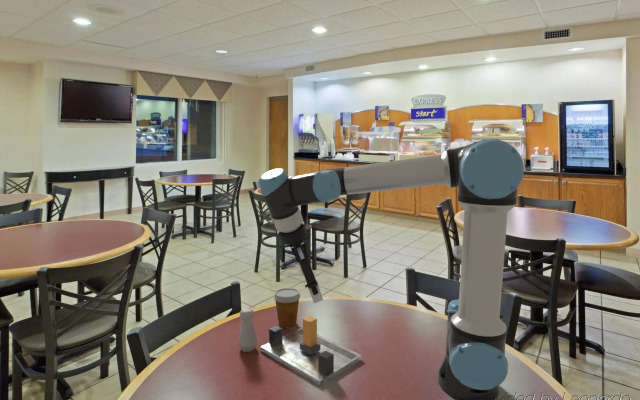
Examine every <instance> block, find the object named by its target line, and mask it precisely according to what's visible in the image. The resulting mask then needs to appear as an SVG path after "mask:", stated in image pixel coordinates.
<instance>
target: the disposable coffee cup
mask: <svg viewBox="0 0 640 400" xmlns="http://www.w3.org/2000/svg"><path fill="white" fill-rule="evenodd" d="M273 298H274V301H275V306H276V314H277V321H278V327H280V328H282V329H289V328H294V327H295V326H296V325H297V321H298V312H299V311H298V310H299V302H300V298H301V294H300V291H299V290H298V289H296V288H291V287H289V288H288V287H287V288H286V287H284V288H280V289H278V290H275V292H274V295H273Z"/></svg>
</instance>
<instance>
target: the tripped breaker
mask: <svg viewBox="0 0 640 400" xmlns="http://www.w3.org/2000/svg"><path fill="white" fill-rule="evenodd" d="M302 327H303V342H301V343H300V349H301V350H302V351H304V352H306V353H308V354H310V355H312V354H314V353H316V352H318V351H320V344H319V343H317V334H318V328H317V327H318V319H317V317H313V316H311V315H309V316H306V317H304V318H302Z"/></svg>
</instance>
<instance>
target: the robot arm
mask: <svg viewBox="0 0 640 400" xmlns="http://www.w3.org/2000/svg"><path fill="white" fill-rule="evenodd" d="M524 173H525V164H524V161H523V158H522V155H521V154H520V153H519V151H518V150H517V149H516V148H515V147H514V146H513V145H511V144H510V143H508V142H506V141H504V140H501V139H493V138H488V139H481V140H478V141H476V142H473V143H470V144H467V145H463V146H460V147H456V148H451V149H449V148H448V149H445V150H444V151H443V152H442V153H440V154H435V155H428V156H422V157H421V156H420V157H415V158H414V157H412V158H405V159H397V160H391V161H390V160H389V161H383V162H375V163H369V164H363V165H362V164H360V165H353V166H346V167H338V168H327V169H325V170H323V169H322V170H319V171H313V172H309V173H303V174H300V175H299V174H298V175H291V176H289V174H288V173H287V171H286V169H284V168H274V169H271V170H268V171H266V172H264V173H263V174H261V175H260V177H259V179H258V186H259V189H260V192H261V197H263V200H264V202H265V204H266V207H267V210H268V212H269V214H270V217H271V219H270V224H271V225H273V224H274V227H275V229H276V233H277V237H278V238H279V241H280V243H282V245H285V246H289V249H290V250H291V253H292V254H293V255H294V258H295V260H296V263H298V265H299V268H300V271H301V274H302V276H304V279H305V281H306V284H304V286H305V287H304V288H307V289H308V291H309V294H310V297H311V299H312V302H313V304H317V303H319V302H322V301H324V299H323V298H324V297H323V295H322V292H321V289H320V287H319V282H318V281H317V279H316V276H315V273H314V272H313V269H312V266H311V264H310V261H309V258H310V257H309V254H308V251H307V246H306V244H305V242H304V240H305V239H306V237H307V236H308V231H307V227H306V224H305V221H304V218H303V216H302V212H301V209H300V207H299V206H302V205H303V206H305V205H311V204H318V203H328V202H331V201H336V200H338V199H339V198H340V197H342V196H347V195H356V194H365V193H367V194H369V193H376V192H386V191H394V190H404V189H413V188H422V187H423V188H424V187H431V186H441V185H442V186H443V185H445V186H446V187H448V188H450V189H451V188H457V189H458V191H457V203H458V204H459V205H460V206H461V207H462V208H463V210H464V212H463V213H464V214H463V226H462V227H463V229H462V245H461V246H462V247H461V259H460V260H461V261H460V262H461V263H460V278H459V279H460V280H459V295H458V296H459V297H458V299H453V300H451V301H449V303H448V305H447V310H446V312H447V325H446V342H445V343H446V345H445V355H444V358H443V360H442V362H441V365H440V367H439V369H438V371H437V372H438V374H437V381H438V385H439V386H440V388H441V389H442V390H443V391H444V392H445V393H447V394H448V395H450V396H451V397H453V398H455V399H458V400H496V398H498V396H499V392H500V391H499V390H500V385H502V383H504V381H505V380H506V378H507V376H508V372H509V362H508V358H507V356H506V338H507V325H506V323H505V322H504V321H503V320H502V319H501V318H500V316H501V307H502V306H501V304H502V290H503V278H504V277H503V276H504V264H505V252H506V251H505V250H506V238H507V226H508V213H509V212H510V211H511V210H512V209H514V208H515V207H516V206H517V202H518V201H517V199H518V187H519V186H520V184H521V182H522V181H523V178H524Z"/></svg>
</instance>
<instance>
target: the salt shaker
mask: <svg viewBox="0 0 640 400" xmlns="http://www.w3.org/2000/svg"><path fill="white" fill-rule="evenodd" d="M254 314H255V312H254V309H252V308H247V307H246V308H243V309H241V310H240V311H239V318H240V319H241V320H240V328H239V330H240V331H239V335H238V336H239V337H238V346H239V347H240V350H241V351H242V352H244V353H250V352H253V351H254V349H255V347H256V345H257V343H258V339H257V334H256V330H255V329H256V328H255V325H254V320H253V318H254Z"/></svg>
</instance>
